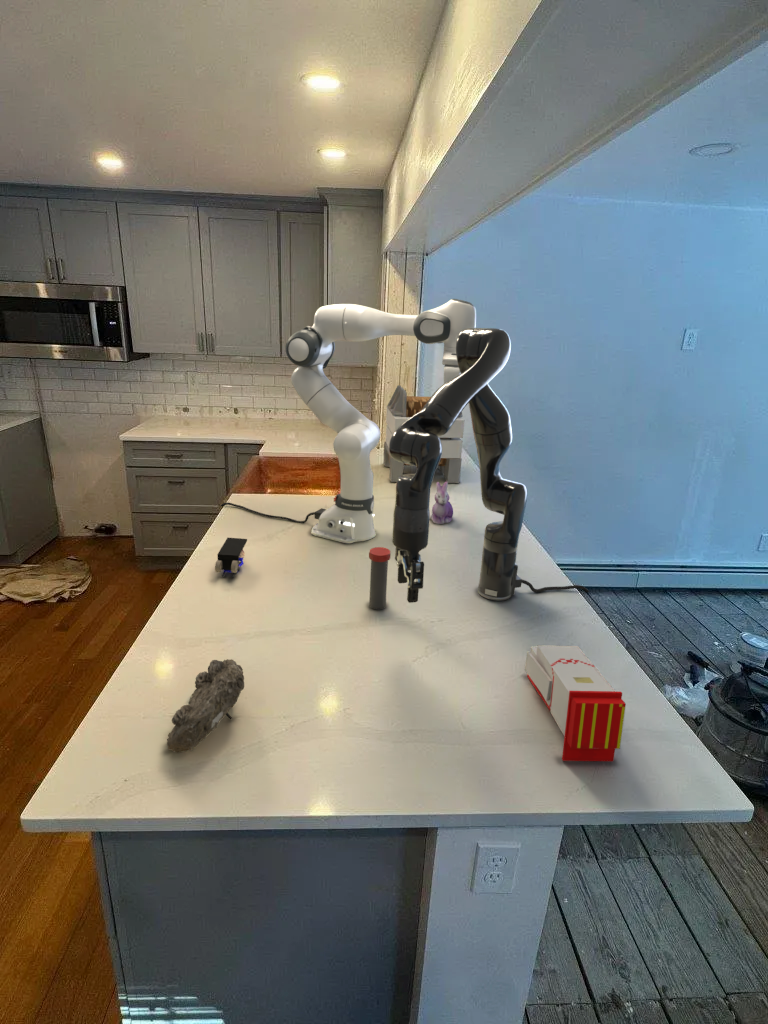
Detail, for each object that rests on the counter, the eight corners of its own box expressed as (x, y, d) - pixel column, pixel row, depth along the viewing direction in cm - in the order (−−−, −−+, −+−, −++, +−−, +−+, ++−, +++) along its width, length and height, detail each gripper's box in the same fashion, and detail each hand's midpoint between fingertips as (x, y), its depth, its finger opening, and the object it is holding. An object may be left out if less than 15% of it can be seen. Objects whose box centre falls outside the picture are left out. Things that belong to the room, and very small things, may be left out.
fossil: (192, 660, 117) (244, 628, 112) (224, 691, 120) (276, 661, 115) (142, 746, 98) (202, 712, 93) (182, 779, 101) (242, 748, 96)
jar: (375, 611, 148) (378, 557, 143) (366, 604, 152) (368, 551, 146) (388, 606, 151) (391, 553, 146) (379, 600, 154) (381, 548, 149)
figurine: (438, 526, 208) (441, 487, 203) (424, 517, 217) (426, 479, 211) (459, 522, 212) (463, 484, 207) (444, 514, 221) (447, 477, 216)
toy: (573, 628, 126) (635, 699, 97) (567, 683, 129) (626, 769, 99) (519, 627, 125) (565, 698, 96) (514, 682, 128) (557, 768, 99)
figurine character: (238, 584, 162) (249, 557, 175) (236, 562, 158) (247, 536, 172) (215, 584, 161) (227, 556, 175) (212, 561, 158) (225, 535, 171)
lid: (377, 564, 143) (377, 557, 142) (364, 556, 147) (364, 549, 146) (394, 559, 146) (394, 552, 145) (381, 551, 150) (382, 545, 150)
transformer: (382, 463, 289) (386, 382, 275) (445, 464, 293) (451, 384, 279) (390, 482, 257) (394, 392, 243) (460, 483, 261) (468, 394, 247)
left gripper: (453, 354, 180) (449, 398, 185) (441, 358, 161) (437, 407, 166) (473, 355, 178) (468, 399, 183) (463, 360, 160) (459, 409, 164)
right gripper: (438, 537, 113) (433, 607, 119) (419, 510, 126) (414, 575, 132) (402, 539, 111) (398, 610, 117) (386, 512, 124) (383, 577, 130)
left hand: (454, 403), depth 174 cm, fingers open, 8 cm apart
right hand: (407, 591), depth 125 cm, fingers open, 8 cm apart
